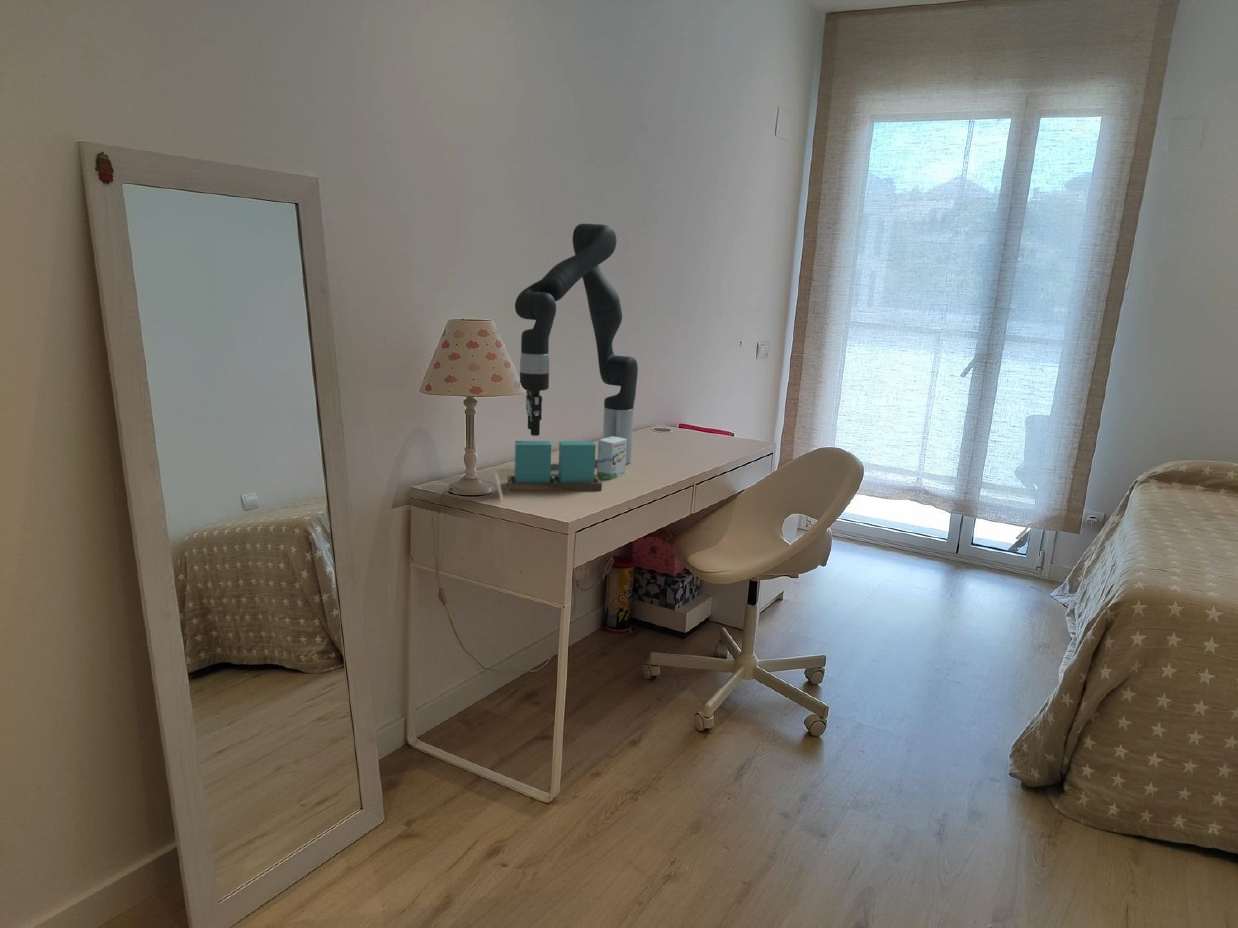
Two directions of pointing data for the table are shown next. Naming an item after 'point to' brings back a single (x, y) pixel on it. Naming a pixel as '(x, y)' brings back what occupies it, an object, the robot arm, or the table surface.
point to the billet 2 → (576, 462)
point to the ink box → (611, 457)
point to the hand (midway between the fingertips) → (533, 432)
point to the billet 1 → (532, 461)
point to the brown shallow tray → (554, 485)
